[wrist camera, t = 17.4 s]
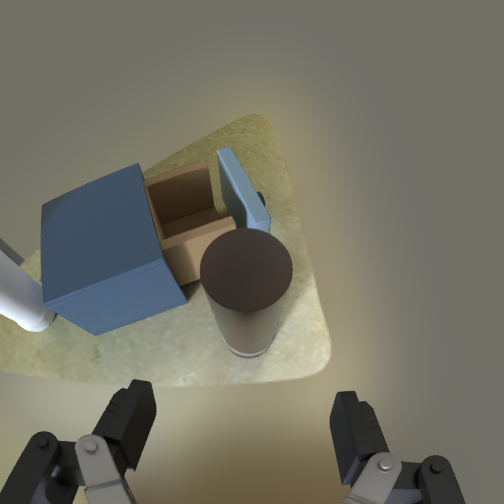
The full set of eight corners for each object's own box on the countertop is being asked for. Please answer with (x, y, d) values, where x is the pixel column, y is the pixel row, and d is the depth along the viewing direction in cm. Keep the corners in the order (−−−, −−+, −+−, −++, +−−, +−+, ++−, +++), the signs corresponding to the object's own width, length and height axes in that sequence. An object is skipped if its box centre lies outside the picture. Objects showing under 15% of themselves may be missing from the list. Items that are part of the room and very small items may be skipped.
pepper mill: (221, 357, 23) (192, 309, 12) (225, 310, 25) (204, 224, 14) (272, 360, 23) (294, 314, 12) (273, 312, 25) (293, 228, 14)
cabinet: (161, 220, 30) (138, 162, 22) (188, 302, 26) (163, 258, 18) (81, 251, 28) (41, 204, 21) (95, 335, 24) (43, 304, 16)
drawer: (244, 191, 30) (243, 141, 25) (279, 257, 27) (287, 212, 21) (154, 222, 29) (134, 177, 23) (176, 295, 25) (154, 260, 19)
